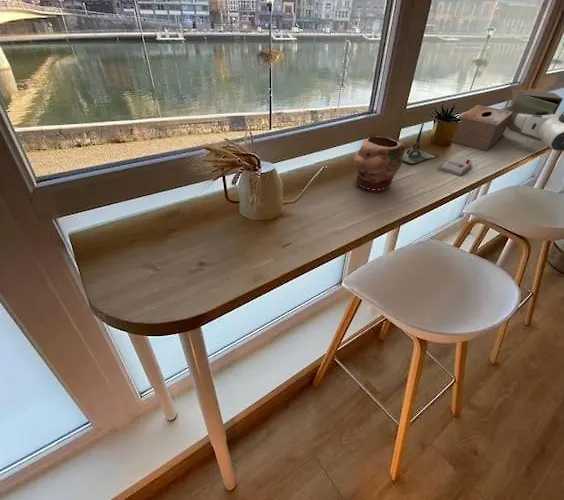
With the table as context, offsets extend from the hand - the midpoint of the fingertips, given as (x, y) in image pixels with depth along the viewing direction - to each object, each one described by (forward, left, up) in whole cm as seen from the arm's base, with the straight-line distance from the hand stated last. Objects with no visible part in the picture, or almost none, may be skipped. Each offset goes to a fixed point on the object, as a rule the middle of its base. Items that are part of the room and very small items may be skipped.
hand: (539, 116), depth 133 cm
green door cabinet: (-12, -19, -10) cm, 25 cm away
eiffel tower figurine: (+58, +17, -10) cm, 61 cm away
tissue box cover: (+21, -3, -10) cm, 23 cm away
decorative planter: (+79, +39, -10) cm, 89 cm away
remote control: (+45, +27, -10) cm, 54 cm away
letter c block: (-2, -8, -10) cm, 13 cm away
